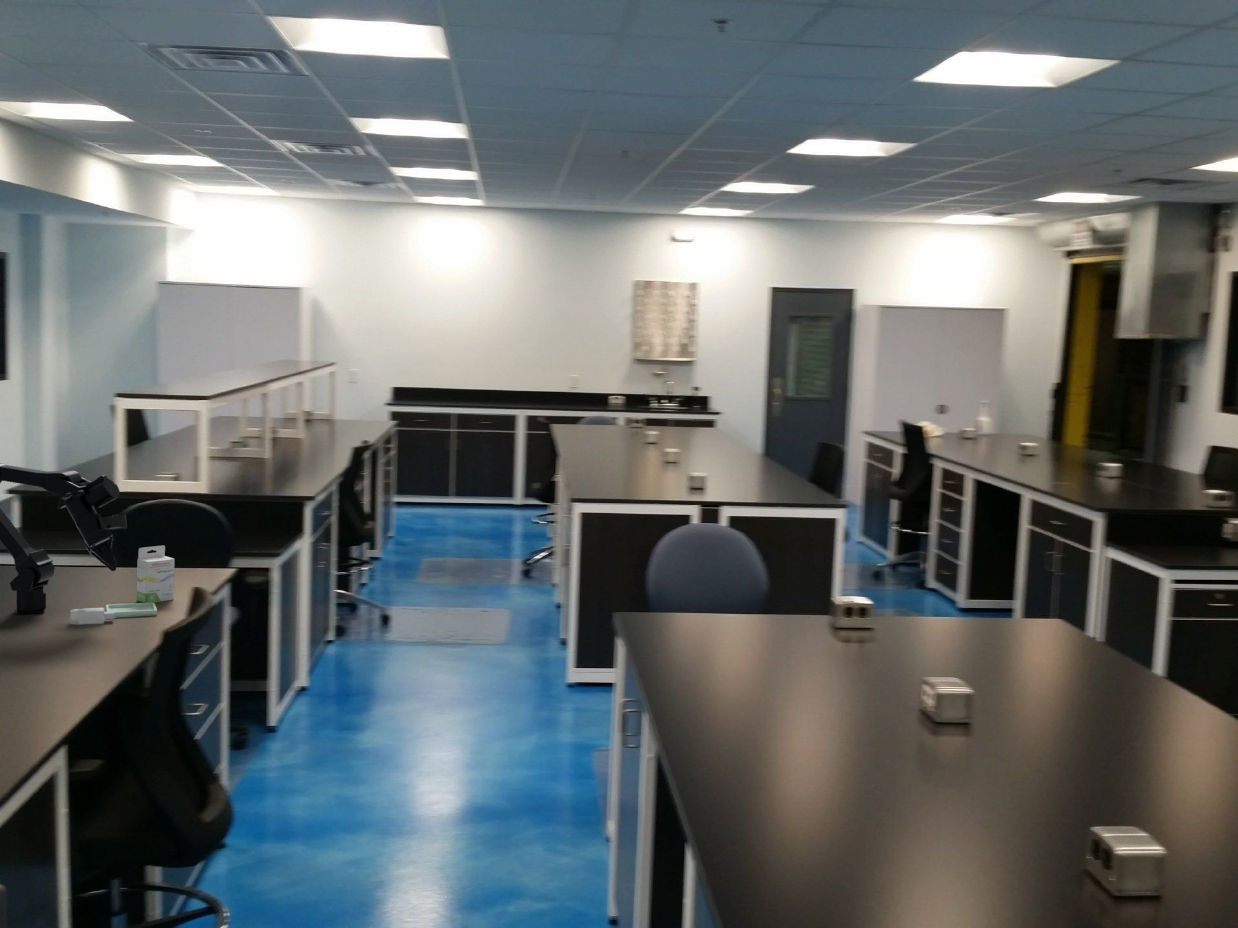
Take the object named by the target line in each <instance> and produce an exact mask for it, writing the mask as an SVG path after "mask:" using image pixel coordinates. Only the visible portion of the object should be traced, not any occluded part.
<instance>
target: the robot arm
mask: <svg viewBox="0 0 1238 928" xmlns="http://www.w3.org/2000/svg"><path fill="white" fill-rule="evenodd" d="M2 482H7V483H8V482H9V483H14V484H22V485H25V486H32V487H33V486H34V487H38V488H41V489H43V490H44V491H46V492H49V493H50V494H51V493H52V494H54V495H58V496H63V497H60V498H59V499H58V503H57V506H56V509H58V510H61V509H63V508H66V509H67V511H68V513H69V515H70V516H71V518H72V520H73V522H74V524H75V527H76V528H77V530H78V531H79V533H80V534H81V536H82V538H83V541H84V543H85V548H86V550H87V551H88V553H89V554H90V555H91V556H92V557H93V558H95V559H96V560H98V561H99V562H100V563H101V564H103V565H104V566H105V567H106V568H107V569H109V570H110V571H111V572H115V571H116V570H117V568H118V566H117V562H116V559H115V556H114V555H115V554H114V552H113V550H112V547H113V540H114V534H113V533H112V531H111V530H124V529H128V524H127V523H128V522H127V516H126V514H118V513H117V514H112V515H111V516H106V517H102V516H101V514H100V513H98V512H97V510H96V509H95V508H98V509H99V508H102V507H103V506H105V505H108V504H109V503H111V502H112V501H115V500H116V499H118V498H119V497H120V496H121V492H120V488H119V486H118V485H117V484H116V483H115V482H114V481H113V480H112V479H109V478H108V476H107V475H106V474H104V475H103V474H102V475H100V476H98V477H97V478H96V479H94V480H93V481H90V480H89V479H86V478H84V477H82V476H81V475H80V472H78V471H75V470H53V471H51V470H50V471H47V470H41V469H34V468H33V469H32V468H28V467H27V468H26V467H21V466H14V465H7V464H5V463H0V484H2ZM80 492H82V493H81V494H79V493H80ZM68 494H70V496H68V497H65V495H68ZM0 542H1V544H2V545H3V547H4V548H5V549H6V551H8V553H9V554H10V556H11V557H12V559H13V560H14V561H13V562H14V566H15V567H14V568H15V571H16V573H17V576H16V577H14V578H12V580H11V581H10V582H9V585H10V588H11V591H14V592H15V593H16V596H15V598H16V600H15V602H16V603H15V604H16V607H15V615H22V614H23V615H24V614H28V615H29V614H43V613H45V610H46V609H47V592H46V591H44V587H45V586H47V585H48V584H49V582H50V579H52V578H53V577H54V574H55V569H56V568H55V566H54V564H53V562H54V560H53V559H52V558H51V557H49V555H48V554H47V551H46V550H45V549H44V548H42V549H39V550H36V549H34V548H33V547H31V546H30V544H29V543H28V541H26V539H25V538H24V537H23V535H22V534H21V533H20V532H19V530H18V529H17V528H16V527H15V525H14V523H13V522H11V520H10V519H9V517H8V516H7V515H6V514H5V512H4V511H3V510H2V508H0ZM48 586H49V585H48Z"/></svg>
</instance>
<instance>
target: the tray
mask: <svg viewBox="0 0 1238 928" xmlns="http://www.w3.org/2000/svg"><path fill="white" fill-rule="evenodd" d="M109 611H114V619H115V618H116V619H117V618H135V617H151V616H152V617H153V616H154V617H155V616H158V609H157V606H156V602H153V603H143V602H136V603H135V602H134V603H115V604H105V612H109Z"/></svg>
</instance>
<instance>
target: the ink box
mask: <svg viewBox="0 0 1238 928" xmlns="http://www.w3.org/2000/svg"><path fill="white" fill-rule="evenodd" d="M151 551H155V552H151ZM149 552H150V553H149ZM165 552H166V546H165V545H156V546H155V545H154V546H146V547H145V546H144V547H139V548H138V556H137V569H136V570H137V571H136V573H137V574H136V575H137V576H136V581H137V582H136V601H138V602H139V603H153V602H154V603H161V602H166V601H172V600H173V601H174V597H175V596H174V593H175V592H174V589H175V558H173V557H170V556H166V555H165Z"/></svg>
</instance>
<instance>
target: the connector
mask: <svg viewBox="0 0 1238 928" xmlns="http://www.w3.org/2000/svg"><path fill="white" fill-rule="evenodd" d="M69 614H70V615H69V621H70V622H69V623H70V625H74V626H75V625H76V626H77V625H99V624H105V620H113V619H115V618H114V611H109V612H106V611H105V607H89V608H75V609H71V610H70V611H69Z"/></svg>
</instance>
